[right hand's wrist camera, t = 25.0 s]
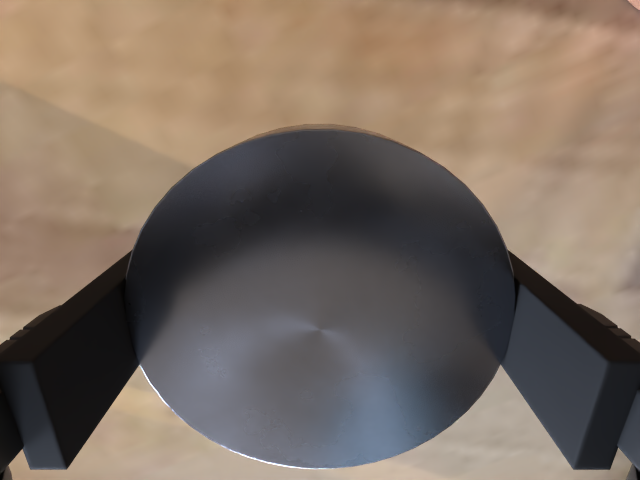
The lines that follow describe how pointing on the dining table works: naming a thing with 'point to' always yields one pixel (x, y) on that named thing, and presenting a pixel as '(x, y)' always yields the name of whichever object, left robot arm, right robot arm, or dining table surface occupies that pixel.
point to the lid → (319, 297)
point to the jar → (635, 3)
